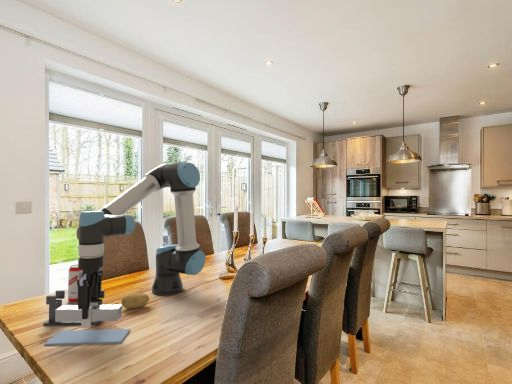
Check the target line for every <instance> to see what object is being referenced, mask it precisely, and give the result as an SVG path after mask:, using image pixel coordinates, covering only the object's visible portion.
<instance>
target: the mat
mask: <svg viewBox="0 0 512 384" xmlns="http://www.w3.org/2000/svg"><path fill="white" fill-rule="evenodd" d="M130 332H131V329H130V328H124V329H123V328H121V329H119V328H117V329H116V328H115V329H112V328H111V329H80V330H79V329H75V330H74V329H72V330H71V329H70V330H68V329H67V330H59V331H58V332H57V333H55V334H54V335H53V336H52V337H50V338H49V339H48V340H47V341H46V342H44V344H43V346H75V345H76V346H77V345H82V346H83V345H109V344H111V345H112V344H115V345H116V344H122V343H123V341H124V340H125V339H126V337H127V336H128V335H129V333H130Z"/></svg>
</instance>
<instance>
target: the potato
mask: <svg viewBox="0 0 512 384" xmlns="http://www.w3.org/2000/svg"><path fill="white" fill-rule="evenodd" d="M149 301H150V297H149V295H148V294H147V293H140V292H131V293H126V294H124V295H123V297H122V298H121V300H120V303H121V305H122V308H123V307H124V309H131V310H132V309H139V308H143V307H146V305H147V304H148V303H149Z"/></svg>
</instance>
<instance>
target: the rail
mask: <svg viewBox="0 0 512 384" xmlns="http://www.w3.org/2000/svg"><path fill="white" fill-rule="evenodd" d="M90 308H91V321H103V322H118V321H119V320H120V319H121V318H122V317H123V306H122V304H102V305H90ZM81 320H82V309H78V304H65V305H63V304H62V306H61V307H59V308H58V309H56V310H55V322H78V321H81Z"/></svg>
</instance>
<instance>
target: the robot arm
mask: <svg viewBox="0 0 512 384" xmlns="http://www.w3.org/2000/svg"><path fill="white" fill-rule="evenodd" d="M200 181H201V174H200V170H199V169H198V167H197V166H196V165H195V164H194V163H192V162H184V161H181V162H166V163H163V164H160V165H158V166H157V167H155V168H153V169H152V170H150V171H148V172H147V173H146V174H143V177H142V179H140V180H139V181H138V182H137V183H135V184H134V185H132V186H131V187H130V188H128V189H126V190H125V191H124V192H122V193H121V194H120V195H118V196H117V197H115V198H114V199H113V200H111V201H110V202H108V203H107V204H105V205H104V206H102V207H101V208H99V209H98V210H85V211H81V212H80V213H79V219H78V246H77V249H78V256H79V257H78V259H77V263H78V264H77V265H78V268H79V269H82V270H83V273H82V279H81V280H77V285H78V303H77V305H78V309H82V320H81V325H80V326H81V327H80V329H91V327H92V325H91V322H97V321H91V308H90V305H98V302H100V301H101V299H102V298H101V290H102V282H103V281H102V279H103V278H102V277H103V269H101V268H102V267H103V266H104V254H105V253H104V251H105V250H104V249H105V245H104V244H105V238H108V237H115V236H126V235H129V234H132V233H133V232H134V230H135V228H136V220H135V218H134V217H133V215H131V214H127V213H128V212H129V211H130V210H131V209H133V208H135V206H137V205H138V204H140V203H141V202H143V201H144V200H145V199H146V198H147V197H149V196H150V195H151V194H152V193H157V192H159V191H160V190H161V189H164V188H170V189H169V190H170V193H171V194H173V197H174V208H175V220H176V233H177V243H176V244H166V245H161V246H157V248H156V250H155V278H154V280H153V283H152V286H151V293H152V294H154V295H156V296H171V295H176V294H179V293H181V292H182V291H183V290H184V286H183V281H182V279H181V275H180V274H183V275H187V276H190V275H191V276H196V275H198V274H200V273H201V272H202V271H203V269H204V267H205V264H206V260H207V258H206V257H207V256H206V253H205V252H203V250H201V247H200V244H199V243H198V242H197V236H196V235H197V234H196V232H197V231H196V221H195V206H194V193H195V192H196V191H197V190H196V187H198V185H199V183H200Z"/></svg>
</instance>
